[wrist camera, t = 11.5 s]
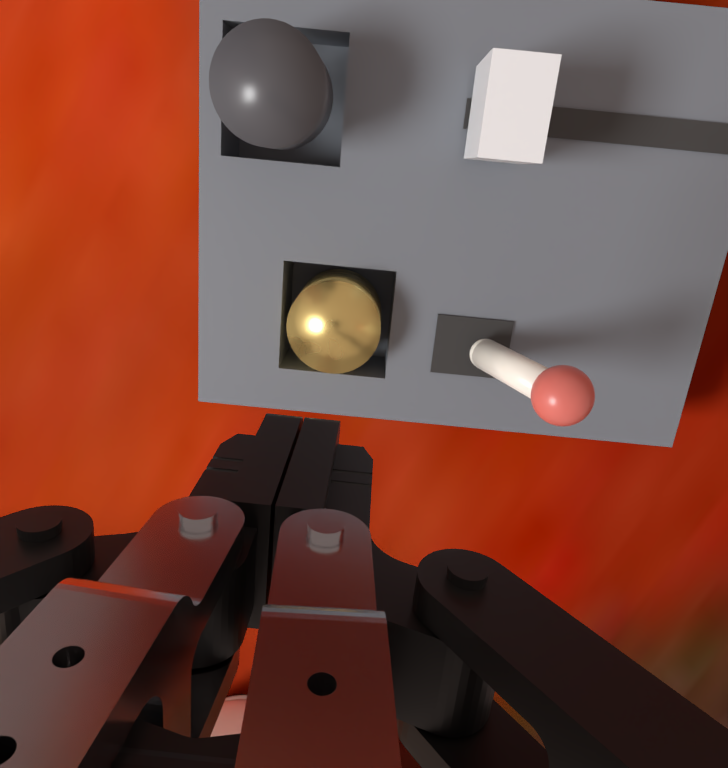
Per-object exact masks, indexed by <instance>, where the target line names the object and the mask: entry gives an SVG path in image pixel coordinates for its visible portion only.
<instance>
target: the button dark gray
mask: <svg viewBox="0 0 728 768" xmlns="http://www.w3.org/2000/svg"><path fill="white" fill-rule="evenodd" d="M209 90H210V95H211V99H212V103H213V105H214V108H215V110H216V112H217V114H218V116H219V118H220V119H221V121H222V122H223V123H224V125H225V126H226V127H227V128H228V129H229V130H230V131H231V132H232V133H233V134H234V135H236V136H237V137H238V138H240V139H242V140H243V141H245V142H247V143H250V144H252V145H256V146H260V147H266V148H272V149H279V150H290V149H295V148H299V147H301V146H304V145H306V144H308V143H309V142H311V141H312V140H313V139H315V138H316V137H317V136H318V135H319V134H320V133H321V131H322V130H323V129H324V127H325V125H326V123H327V122H328V119H329V117H330V114H331V110H332V105H333V87H332V82H331V78H330V75H329V73H328V70H327V68H326V66H325V64H324V63H323V61H322V59H321V58H320V56H319V54H318V53H317V51H316V49H315V48H314V46H313V45H312V43H311V42H310V41H309V40H308V39H307V37H306V36H305V35H304V34H302V33H301V32H300V31H299V30H298V29H296V28H295V27H293V26H291V25H289V24H287V23H285V22H283V21H280V20H276V19H270V18H259V19H253V20H249V21H246V22H244V23H242V24H239V25H238V26H236V27H235V28H233V29H232V30H231V31H230V32H228V33H227V34H226V35H225V37H224V38H223V39H222V40H221V42H220V43H219V45H218V46H217V48H216V50H215V52H214V54H213V57H212V61H211V64H210V70H209Z"/></svg>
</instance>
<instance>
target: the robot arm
mask: <svg viewBox="0 0 728 768" xmlns="http://www.w3.org/2000/svg"><path fill="white" fill-rule="evenodd" d="M339 434H340V421H334V420H325V419H316V418H306V417H305V419H304V422H303V418H302V417H296V416H286V415H277V414H266V416H265V418H264V420H263V422H262V424H261V426H260V428H259V430H258V432H257V434H256V436H254V435H245V434H237V435H235V436H233V437H232V438H230V439H228V440H226V441H225V442H223V443H221V444H220V446H219V448H218V449H217V451H216V453H215V454H214V456H213V459H211V461H210V463H209V464H208V466H207V469H206V470H205V471H204V472H203V474H202V476H201V477H200V479H199V481H198V482H197V484H196V486H195V487H194V489H193V491H192V492H191V494H190V496H189V497H185V498H181V499H177V500H174V501H171V502H169V503H167V504H165V505H163V506H162V507H160V508H159V509H158V510H157V511H156V512H155V513H154V514H153V515H152V516H151V518H150V519H149V520H148V521H147V522H146V524H145V525H144V526H143V527H142V528H141V530H140V531H139V532H135V533H127V534H116V535H104V536H94V527H93V521H92V518H91V517H90V516H89V515H88V514H87V513H85V512H84V511H82V510H79V509H77V508H73V507H68V506H41V507H34V508H29V509H25V510H22V511H18V512H15V513H12V514H9V515H6V516H3V517H0V768H401V759H400V749H399V739H400V741H401V742H402V744H403V745H404V746H405V748H406V749H407V750H408V751H409V753H410V754H411V755H412V756H413V757H414V759H415V760H416V761H417V762H418V763H419V765H420V766H421V767H422V768H728V729H727V728H726V727H724V726H723V725H721V724H720V723H719V722H717V721H716V720H714V719H713V718H712V717H710V716H709V715H708V714H706V713H705V712H703V711H702V710H701V709H699V708H698V707H697V706H695V705H694V704H692V703H691V702H690V701H688V700H687V699H686V698H684V697H683V696H681V695H680V694H679V693H677V692H676V691H675V690H673V689H672V688H670V687H669V686H668V685H666V684H665V683H664V682H662V681H661V680H659V679H658V678H657V677H655V676H654V675H652V674H651V673H650V672H648V671H647V670H646V669H644V668H643V667H641V666H640V665H639V664H637V663H636V662H635V661H633V660H632V659H630V658H629V657H628V656H626V655H625V654H624V653H622V652H621V651H619V650H618V649H617V648H615V647H614V646H613V645H611V644H610V643H608V642H607V641H606V640H604V639H603V638H602V637H600V636H599V635H597V634H596V633H595V632H593V631H592V630H590V629H589V628H588V627H586V626H585V625H584V624H582V623H581V622H579V621H578V620H577V619H575V618H574V617H573V616H571V615H570V614H568V613H567V612H566V611H564V610H563V609H562V608H560V607H559V606H557V605H556V604H555V603H553V602H552V601H551V600H549V599H548V598H546V597H545V596H544V595H542V594H541V593H540V592H538V591H537V590H535V589H534V588H533V587H531V586H530V585H528V584H527V583H526V582H524V581H523V580H522V579H520V578H519V577H517V576H516V575H515V574H513V573H512V572H511V571H509V570H508V569H506V568H505V567H504V566H502V565H501V564H500V563H498V562H496V561H495V560H493V559H491V558H489V557H487V556H485V555H482V554H480V553H476V552H473V551H468V550H463V549H445V550H439V551H435V552H433V553H430V554H428V555H427V556H426V557H424V558H423V559H422V560H421V562H420V563H419V566H418V567H416V566H413V565H410V564H407V563H404V562H401V561H398V560H396V559H394V558H392V557H390V556H389V555H387V554H385V553H384V552H383V551H381V550H380V549H379V548H378V547H377V546H376V545H375V544H374V542H373V541H372V539H371V535H370V531H369V523H370V504H371V485H372V468H373V459H372V458H371V456H370V455H369V454H368V453H367V451H366V450H365V449H364V447H359V446H350V445H340V444H339ZM247 628H256V629H259V630H258V636H257V642H256V647H255V653H254V659H253V665H252V670H251V676H250V682H249V688H248V693H247V699H246V705H245V711H244V716H243V722H242V728H241V733H240V734H231V735H223V736H214V737H210V736H211V734H212V731H213V729H214V726H215V724H216V721H217V719H218V716H219V714H220V711H221V709H222V706H223V704H224V701H225V699H226V696H227V694H228V691H229V689H230V686H231V684H232V681H233V679H234V676H235V674H236V672H237V669H238V665H239V652H240V646H241V644H242V642H243V640H244V636H245V633H246V630H247ZM495 691H496V692H497V693H498V694H499V695H500V696H501V697H502V698H503V699H504V700H505V701H506V702H507V703H508V704H509V705H510V706H512V707H513V708H514V709H515V710H516V711H517V712H518V713H519V714H520V715H521V716H522V717H523V718H524V719H525V720H526V721H528V722H529V723H530V724H531V726H532V727H533V728H534V729H535V730H536V732H537V733H538V734H539V736H540V738H541V739H542V741H543V743H544V746H545V748H546V749H545V748H544V747H543V746H542V745H540V744H539V743H538V742H537V741H536V740H535V739H534V738H533V737H532V736H531V735H530V734H529V733H528V732H527V731H526V730H525V729H524V728H523V727H522V726H521V725H520V724H518V723H517V722H516V721H515V720H514V719H513V718H512V717H511V716H510V715H509V714H508V713H507V712H506V711H505V710H504V709H503V708H502V707H501V706H500V705H499V704H498V703H496V702H495V701H494V700H493V696H494V692H495ZM398 737H399V739H398Z"/></svg>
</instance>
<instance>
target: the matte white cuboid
mask: <svg viewBox="0 0 728 768" xmlns="http://www.w3.org/2000/svg"><path fill="white" fill-rule="evenodd" d="M561 56H562V54H552V53H542V52H532V51H522V50H511V49H501V48H492V50H491V51H490V52H489V53H488V54H487V55H486V56H485V57H484V58H483V59H482V60H481V62H480V63H479V64H478V65H477V66H476V73H475V80H474V87H473V95H472V102H471V109H470V116H469V124H468V131H467V138H466V146H465V153H464V159H472V160H483V161H493V162H503V163H513V164H542V163H543V158H544V152H545V146H546V141H547V135H548V129H549V124H550V118H551V112H552V107H553V101H554V95H555V90H556V84H557V79H558V73H559V67H560V62H561Z"/></svg>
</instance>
